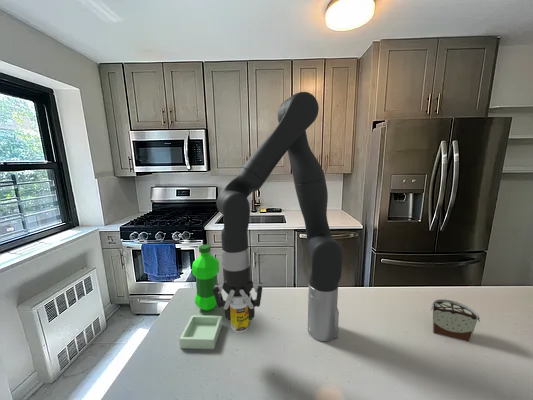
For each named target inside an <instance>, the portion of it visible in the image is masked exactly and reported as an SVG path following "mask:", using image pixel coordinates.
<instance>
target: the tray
mask: <svg viewBox="0 0 533 400" xmlns="http://www.w3.org/2000/svg"><path fill="white" fill-rule="evenodd" d="M222 326H223V316H222V315H197V314H196V315H193V314H192V315H191V316H190V318H189V320H188V321H187V323H186V326H185V327H184V329H183V331H182V333H181V336H180V337H179V348H180V349H192V350H193V349H197V350H201V349H202V350H214V349H216V346H217V342H218V339H219V336H220V332H221V330H222Z"/></svg>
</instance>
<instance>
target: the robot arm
mask: <svg viewBox="0 0 533 400" xmlns="http://www.w3.org/2000/svg"><path fill="white" fill-rule="evenodd" d="M319 109H320V107H319V102H318V100H317V98H316V97H315V96H314V95H313V94H312V93H310V92H308V91H299V92H296V93H294V94H292V95H291V96H289V98H287V99H286V100H284V101H283V102H282V103H281V104H280V105H279V107H278V110H277V122H278V125H277V126H276V127H275V129H274V130H273V131H272V132H271V133H270V134H269V136H268V137H266V138H265V140H264V141H262V143H261V144H260V145H259V146H258V147H257V148H255V151H254V152H253V153H252V154H251V155H250V157H249V158H248V159H247V161H246V162H245V163H244V164H243V166H242V167H241V169H240V171H239V172H238V173H237V175H236V176H235V177H233V178H232V180H231V181H230V182H228V183H227V184H226V185H225V186H224V187H223V189H222V190H221V192H220V193H219V195H218V196H217V199H216V208H217V211H219V213H221V214H222V216H223V228H222V229H221V233H220V235H221V237H220V238H221V240H220V241H221V251H222V252H221V265H222V275H223V284H219V283H217V284H215V286H214V289H213V293H214V296H215V300H216V303H217V305H216V306H217V308H219V309H220V308H223V309H224V316H225V319H227V321H230V322H231V319H230V302H231V300H232V297H233V296H242V297H243V298H244V300H245V302H246V303H247V304H248V306H249V320H250V321H253V319H254V318H255V316H256V313H255V312H256V311H255V308H257V307H258V308H259V307H260V306H261V299H262V294H263V286H264V285H263V283H262V282H258V283H254V282H253V281H252V280H253V279H252V271H251V268H252V267H251V256H250V255H251V254H250V249H249V234H248V230H249V224H250V216H251V207H250V202H249V199H248V198H249V196H250V195H251V194H252V193H254V192H256V191H259V190H260V189H261V188H262V186H263V185H264V184H265V182H266V181H267V179H268V178H269V176H270V175H271V174H272V172H273V171H274V170H275V168H276V166H277V165H278V164H279V162H280V161H281V159H282V158H283V156H285V155H286V153H288V154H287V155H288V159H289V164H290V170H291V173H292V177H293V182H294V189H295V193H296V197H297V200H298V205H299V209H300V211H301V214H302V217H303V221H304V226H305V234H306V236H305V237H306V245H307V246H306V247H307V251H308V253H309V255H310V257H311V272H310V273H309V274H308V295H307V296H308V297H307V298H308V300H307V304H308V305H307V332H308V335H310V337H311V338H313V339H315V340H317V341H319V342H329V341H333V339H338V337H339V319H340V318H339V317H340V316H339V315H340V311H339V308H338V300H339V296H338V295H339V282H340V281H341V279H342V269H343V256H344V255H343V249H342V247H341V245H340V243H338V242H337V241H336V240H335V238H333V235H332V232H331V229H330V226H329V223H328V222H329V221H328V215H327V214H328V213H327V212H328V211H327V210H328V198H329V197H328V196H329V195H328V188H327V181H326V175H325V172H324V169H323V167H322V165H321V164H320V161H319V160H318V159H317V157H316V156H315V154H314V153H313V151H312V149H311V146H310V144H309V141H308V140H309V139H308V136H307V135H308V134H307V131H306V130H307V129H308V128H310V127H311V125H312V124H313V123H315V121H316V120H317V117H318V115H319V111H320V110H319ZM253 289H254V292H255V293H256V298H255V299H254V298H253V297H252V296H253V295H252V293H251V291H252V290H253ZM222 291H224V292H225V293H226V294H227V298H226V300H224V297H223V294H222Z"/></svg>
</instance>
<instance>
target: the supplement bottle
mask: <svg viewBox="0 0 533 400" xmlns="http://www.w3.org/2000/svg"><path fill="white" fill-rule="evenodd" d="M230 319H231V320H230V327H231V330H232V331H233V332H235V333H243V332H246V331H248V329H249V328H250V326H251V320H249V306H248V304H247V303H246V302H245V300H244V298H243V297H242V296H233V297H232V300H231V302H230Z"/></svg>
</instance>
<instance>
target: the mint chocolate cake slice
mask: <svg viewBox="0 0 533 400" xmlns="http://www.w3.org/2000/svg"><path fill="white" fill-rule="evenodd" d="M431 311H432V333H434V335H437V336H440V337H441V336H442V337H446V338H449V339H452V340H453V339H454V340H456V341H460V340H461V341H462V342H464V341H465V342H464V343H468V342H469V344H470V343H471V340H472V338H473V337H472V336H473V334H474V331H475V327H476V325H477V322H481V320H480V318H481V317H480V315H479V314H478V312H477V311H475V309H472V308H471V307H469V306H467V305H465V304H463V303H461V302H458V301H454V300H450V299H446V298H445V299H444V298H443V299H442V298H441V299H436V300H434V301H433V302H432V304H431V306H430V312H431ZM461 341H460V342H461Z"/></svg>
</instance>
